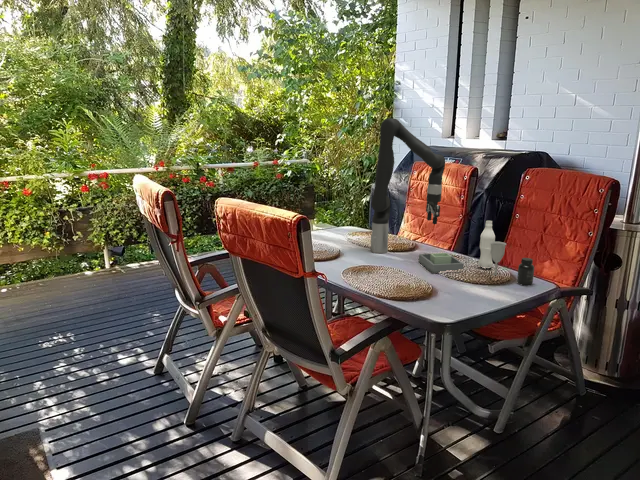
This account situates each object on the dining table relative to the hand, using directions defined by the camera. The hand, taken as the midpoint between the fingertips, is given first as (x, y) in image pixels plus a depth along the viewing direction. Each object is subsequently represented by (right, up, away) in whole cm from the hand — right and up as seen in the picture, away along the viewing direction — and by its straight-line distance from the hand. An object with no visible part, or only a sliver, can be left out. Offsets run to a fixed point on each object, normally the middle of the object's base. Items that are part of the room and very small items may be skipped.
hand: (431, 222), depth 264 cm
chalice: (+24, -29, -28) cm, 47 cm away
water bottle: (+25, -24, -11) cm, 37 cm away
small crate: (+2, -23, -9) cm, 24 cm away
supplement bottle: (+36, -30, -34) cm, 58 cm away
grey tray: (+2, -24, -9) cm, 25 cm away
